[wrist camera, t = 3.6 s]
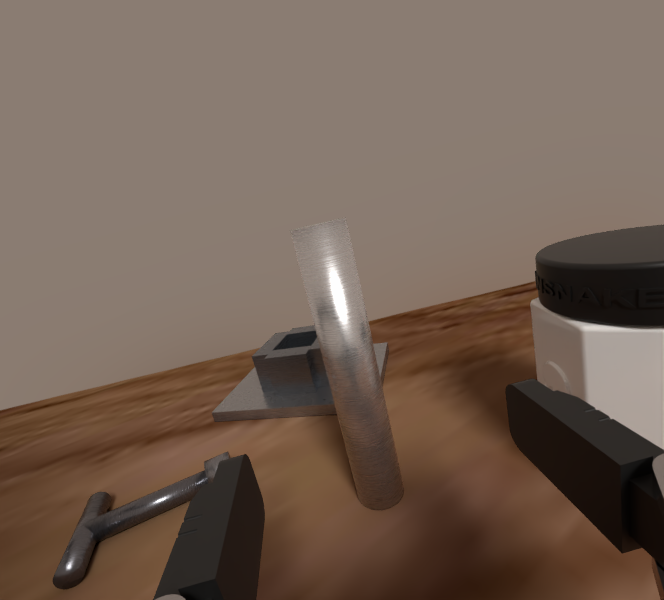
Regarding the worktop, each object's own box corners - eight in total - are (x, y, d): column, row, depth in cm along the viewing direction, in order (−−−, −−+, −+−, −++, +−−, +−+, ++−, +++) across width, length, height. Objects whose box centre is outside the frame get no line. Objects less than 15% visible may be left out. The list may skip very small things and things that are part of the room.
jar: (522, 422, 23) (503, 250, 20) (653, 403, 22) (653, 218, 19) (619, 550, 14) (611, 279, 12) (844, 530, 13) (896, 226, 10)
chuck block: (214, 421, 32) (198, 375, 31) (266, 364, 44) (255, 328, 42) (378, 411, 28) (366, 357, 27) (388, 350, 39) (380, 309, 38)
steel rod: (354, 509, 19) (281, 233, 16) (361, 472, 22) (300, 227, 18) (403, 510, 18) (339, 219, 15) (404, 472, 21) (350, 216, 17)
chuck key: (59, 593, 18) (43, 566, 18) (92, 513, 24) (81, 490, 23) (239, 507, 21) (230, 481, 21) (232, 453, 27) (225, 432, 26)
